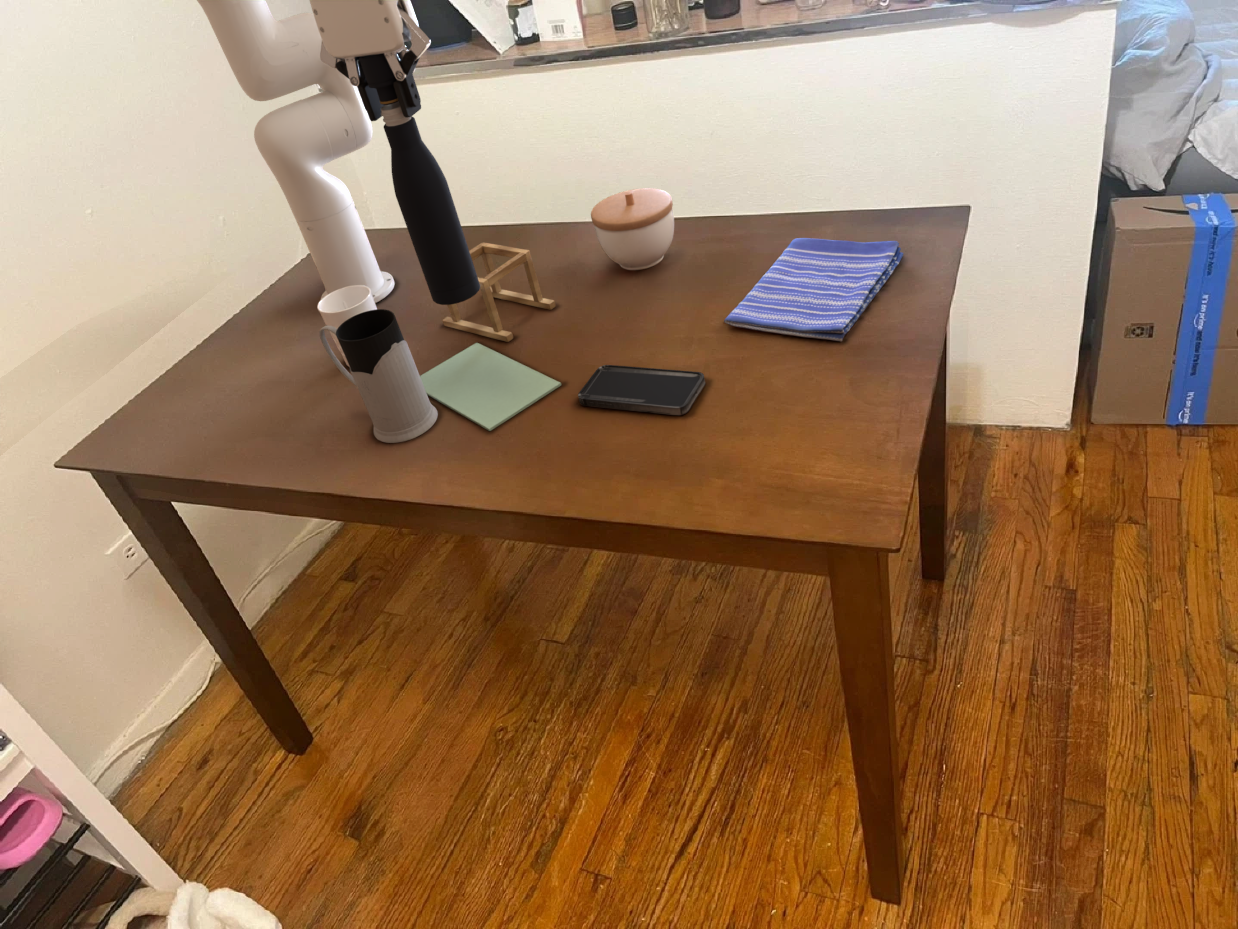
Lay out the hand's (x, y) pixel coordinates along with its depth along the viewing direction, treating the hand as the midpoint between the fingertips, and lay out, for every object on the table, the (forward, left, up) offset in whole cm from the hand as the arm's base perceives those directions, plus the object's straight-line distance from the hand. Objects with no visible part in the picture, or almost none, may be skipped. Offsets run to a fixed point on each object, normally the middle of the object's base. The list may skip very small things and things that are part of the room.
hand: (395, 113), depth 109 cm
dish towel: (+25, +40, -37) cm, 60 cm away
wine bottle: (0, 0, -23) cm, 23 cm away
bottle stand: (-13, +12, -37) cm, 40 cm away
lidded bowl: (-6, +35, -37) cm, 51 cm away
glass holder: (-3, -13, -37) cm, 39 cm away
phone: (+22, +9, -37) cm, 44 cm away
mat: (+1, -1, -37) cm, 37 cm away
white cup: (-22, -7, -37) cm, 43 cm away
